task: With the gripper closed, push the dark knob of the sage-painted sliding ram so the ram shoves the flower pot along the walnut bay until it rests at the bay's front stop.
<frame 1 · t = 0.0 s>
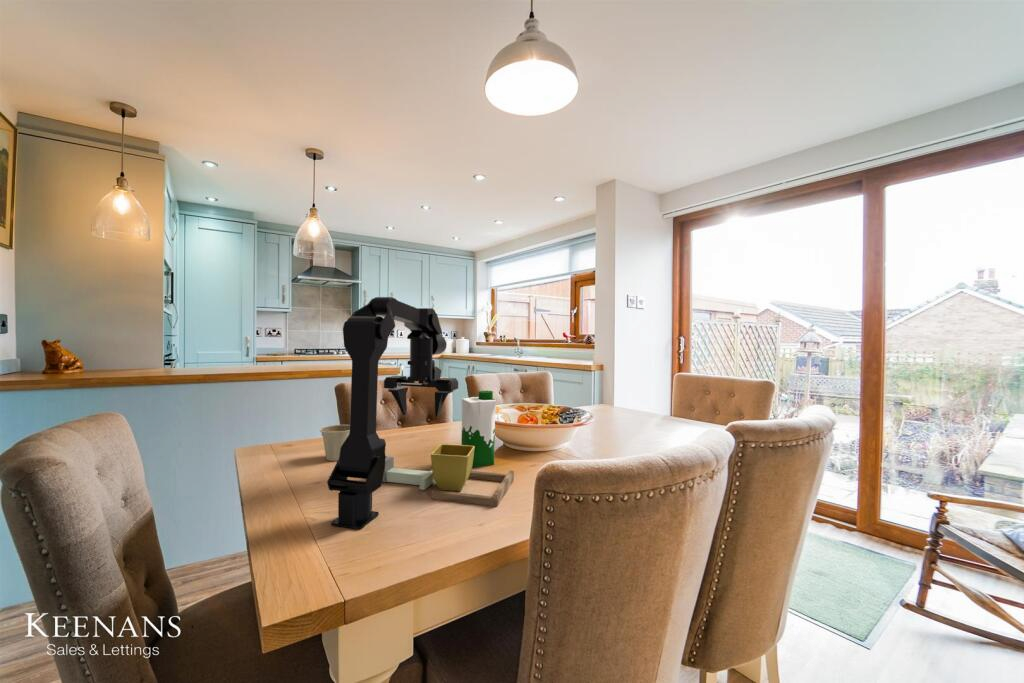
hand: (420, 416, 107), 15 cm above the table, fingers open, 9 cm apart
flower pot 2: (337, 458, 118), on the table
ram: (402, 470, 100), point 3 cm above the table, slide at 0.0 cm
bay: (473, 489, 96), on the table
flower pot: (453, 488, 97), on the table
milk carton: (477, 463, 116), on the table
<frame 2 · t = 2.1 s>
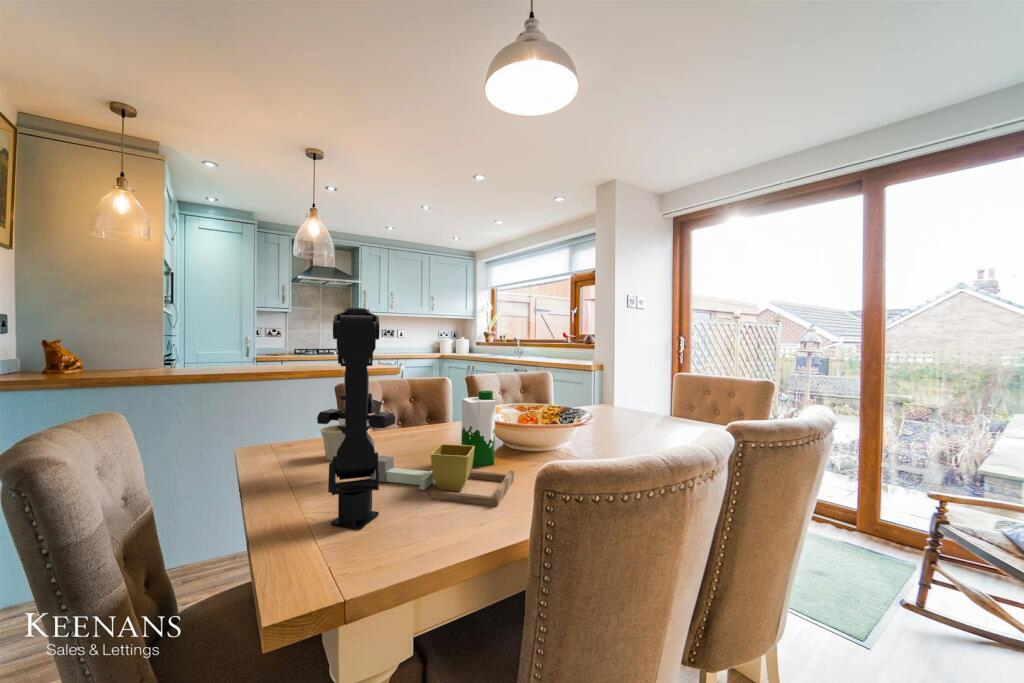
hand: (356, 452, 103), 6 cm above the table, fingers closed
nothing on the table moved.
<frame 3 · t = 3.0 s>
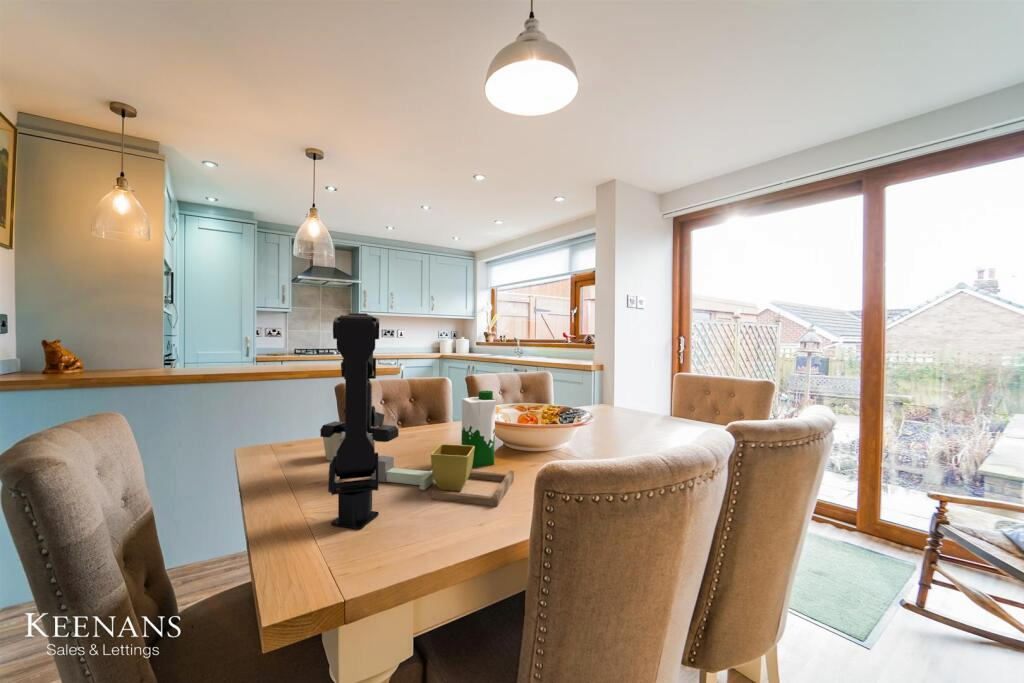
hand: (359, 465, 103), 3 cm above the table, fingers closed
nothing on the table moved.
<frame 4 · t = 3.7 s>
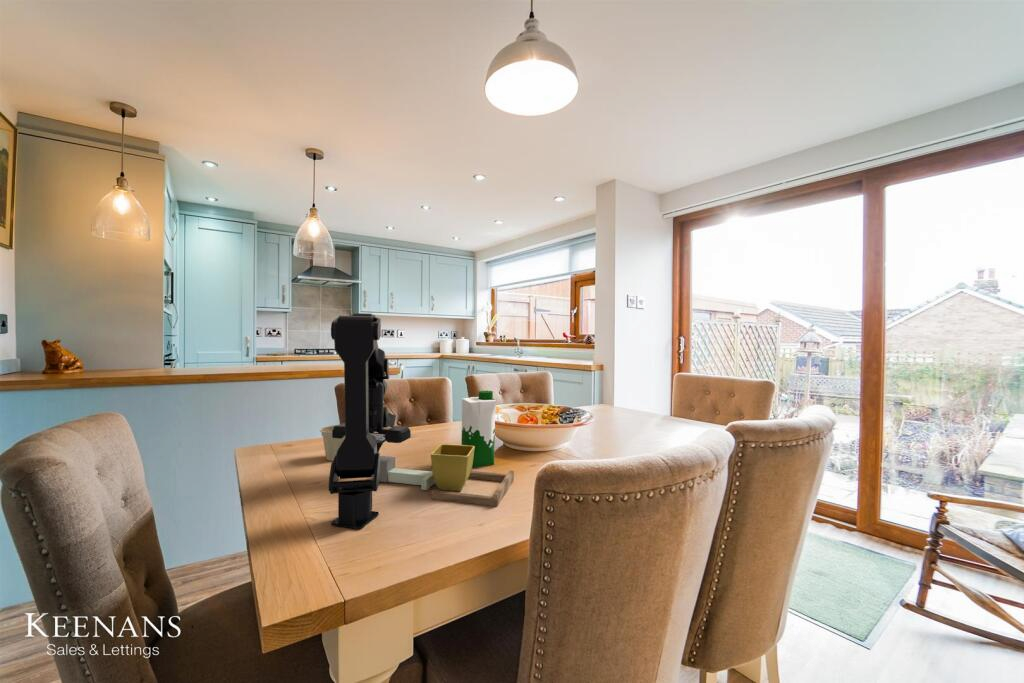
hand: (371, 466, 102), 3 cm above the table, fingers closed
ram: (404, 470, 100), point 3 cm above the table, slide at 0.5 cm, touching gripper
everything else where it was.
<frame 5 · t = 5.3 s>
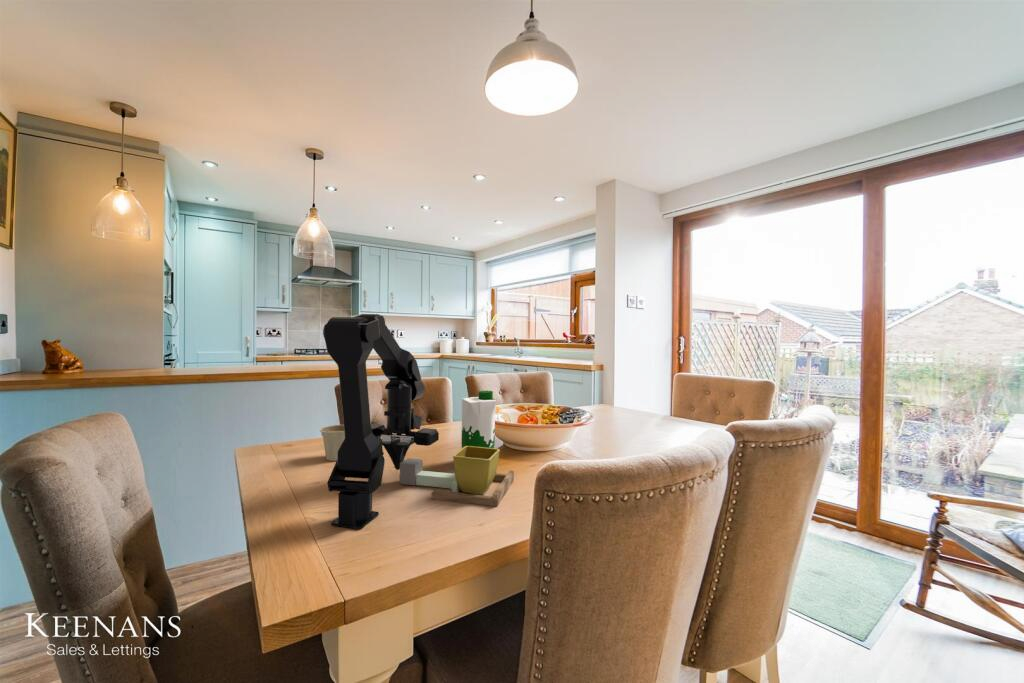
hand: (398, 469, 101), 3 cm above the table, fingers closed
ram: (432, 473, 99), point 3 cm above the table, slide at 7.9 cm, touching gripper
flower pot: (476, 491, 96), on the table
everything else where it was.
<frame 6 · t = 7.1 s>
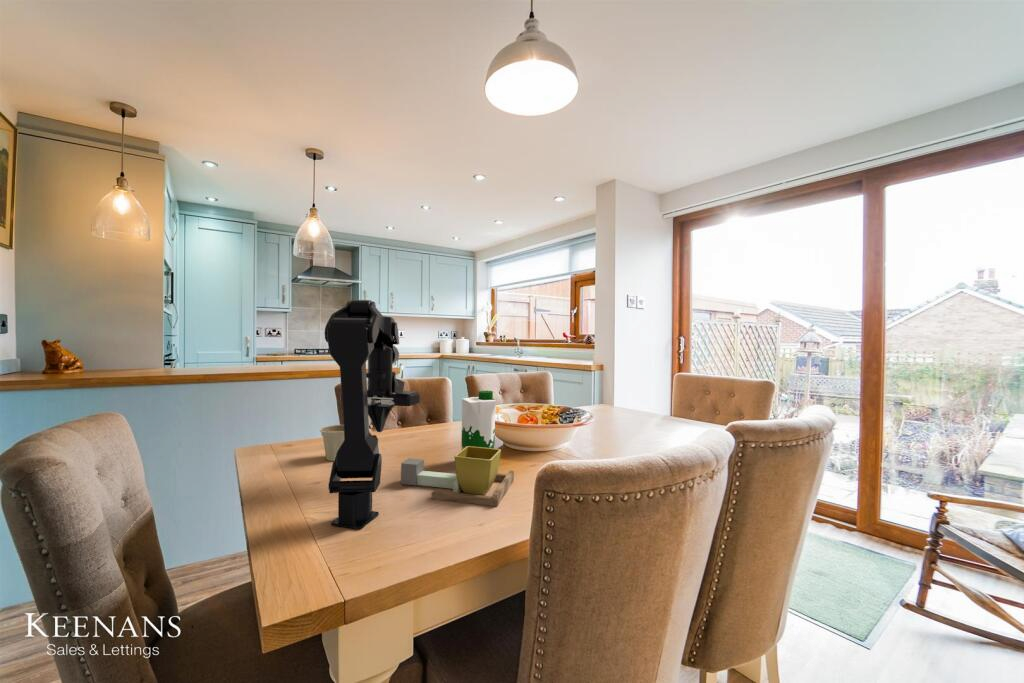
hand: (379, 431, 101), 12 cm above the table, fingers closed
ram: (434, 473, 98), point 3 cm above the table, slide at 8.2 cm
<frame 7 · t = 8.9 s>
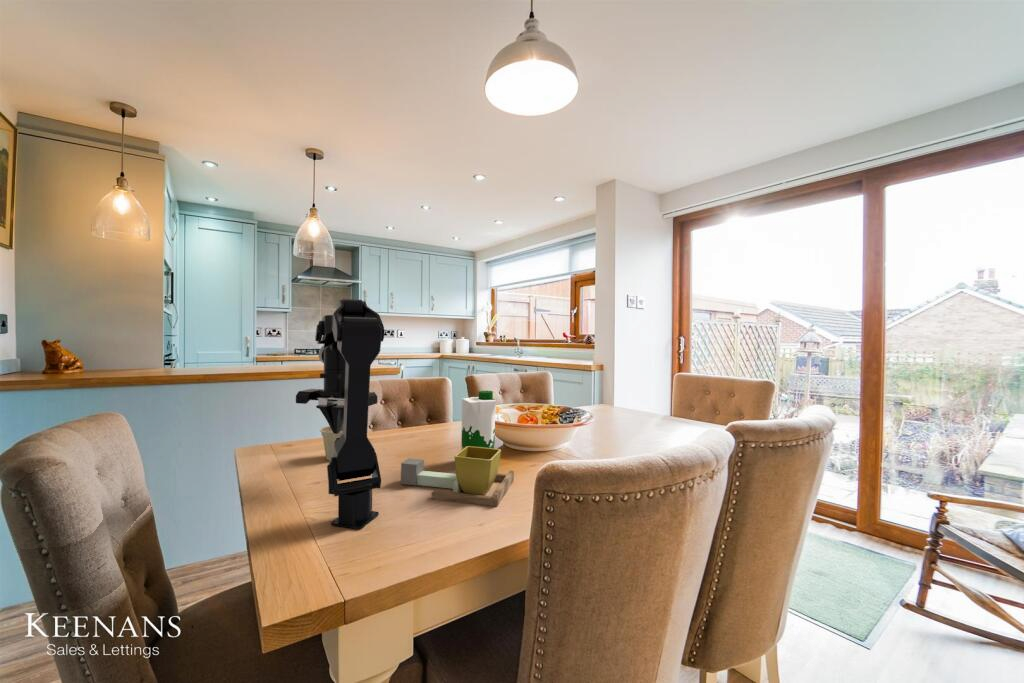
hand: (336, 433, 99), 12 cm above the table, fingers closed
nothing on the table moved.
at the end: flower pot inside the target area (1.5 cm from its centre), on the table; flower pot tilted 0°; flower pot moved 6.3 cm from its start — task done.
